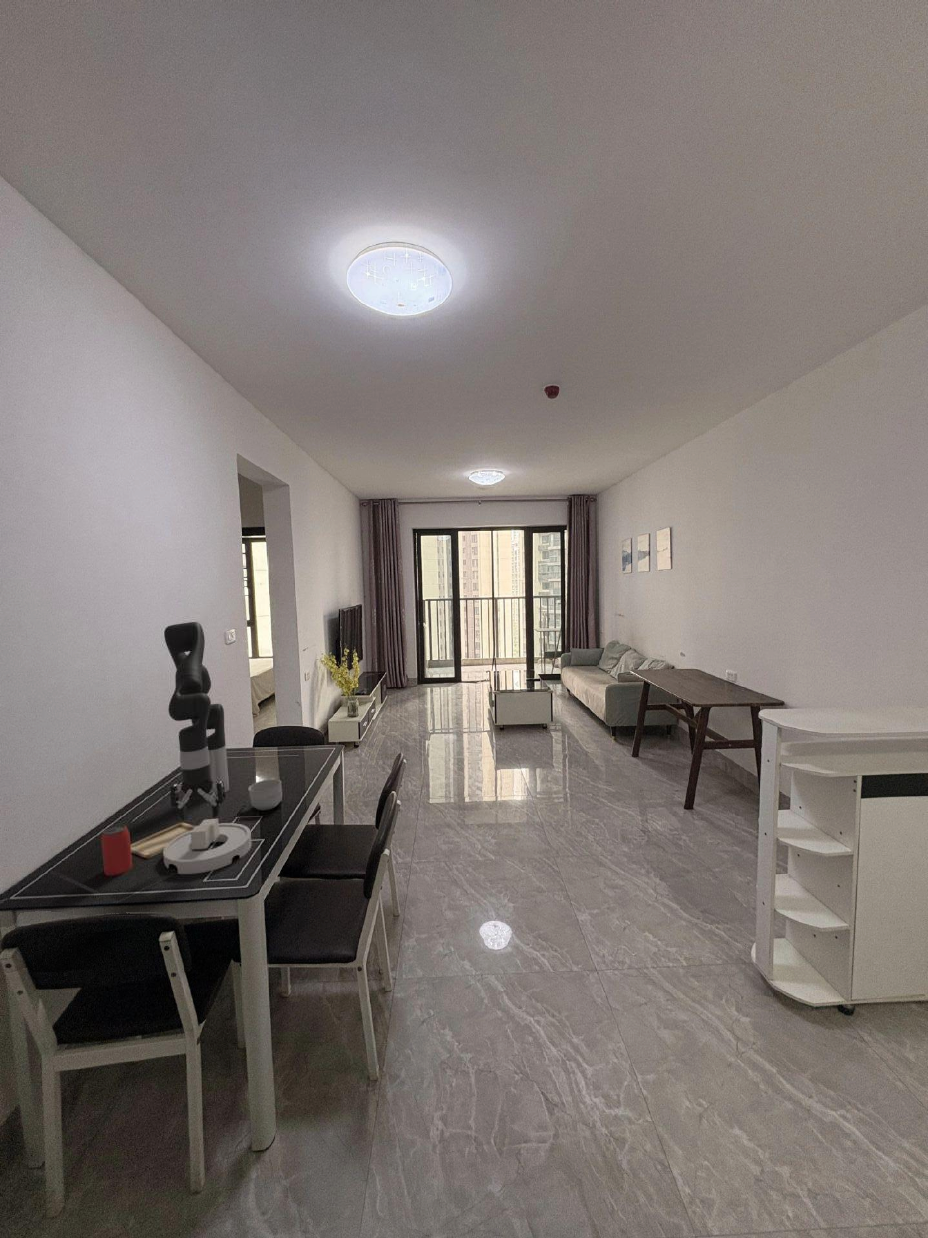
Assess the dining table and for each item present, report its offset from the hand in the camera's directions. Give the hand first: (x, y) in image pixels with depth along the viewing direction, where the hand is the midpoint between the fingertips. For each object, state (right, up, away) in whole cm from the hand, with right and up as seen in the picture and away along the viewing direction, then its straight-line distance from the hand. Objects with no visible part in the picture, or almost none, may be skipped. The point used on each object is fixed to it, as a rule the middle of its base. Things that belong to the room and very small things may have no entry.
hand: (200, 818), depth 157 cm
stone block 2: (+1, -7, +4) cm, 8 cm away
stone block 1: (+1, -8, 0) cm, 8 cm away
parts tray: (-15, -11, +10) cm, 21 cm away
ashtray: (+1, -12, +3) cm, 12 cm away
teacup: (+7, -8, +35) cm, 37 cm away
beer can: (-20, -13, -6) cm, 24 cm away
